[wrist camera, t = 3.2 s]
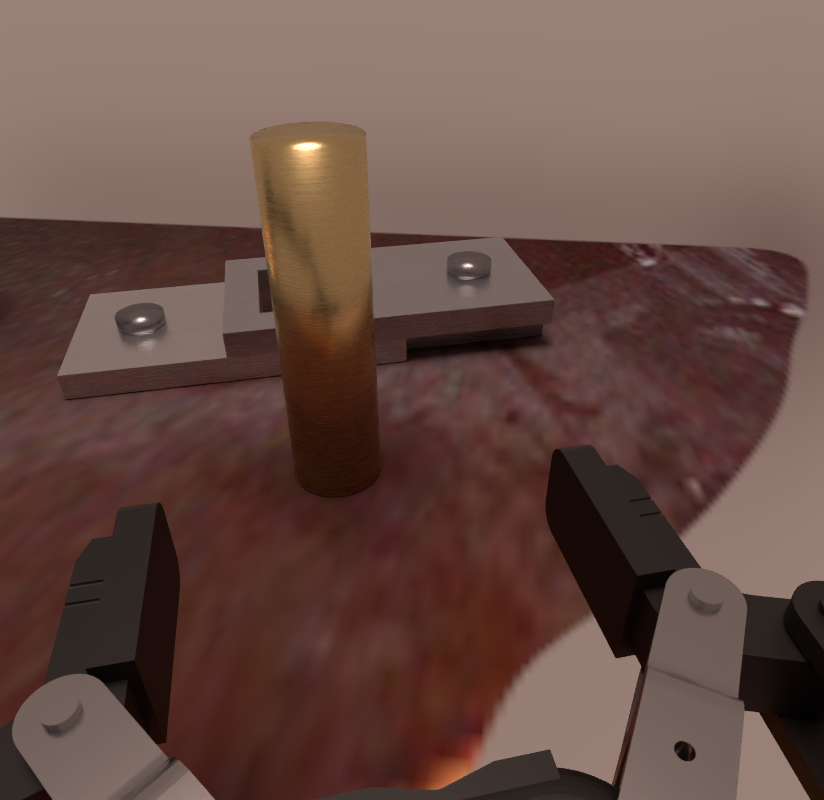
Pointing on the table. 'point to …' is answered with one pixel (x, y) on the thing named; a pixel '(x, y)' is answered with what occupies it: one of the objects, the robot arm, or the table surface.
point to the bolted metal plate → (255, 328)
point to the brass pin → (322, 297)
